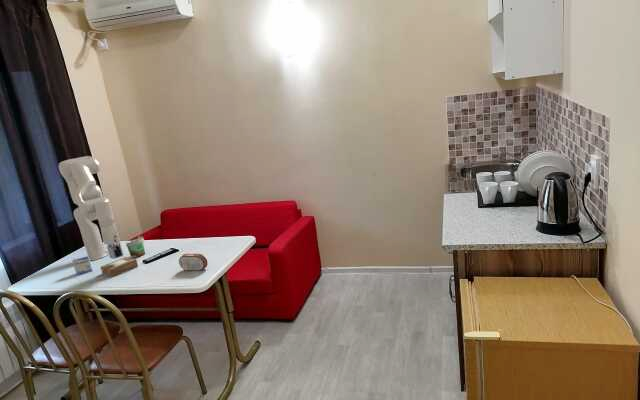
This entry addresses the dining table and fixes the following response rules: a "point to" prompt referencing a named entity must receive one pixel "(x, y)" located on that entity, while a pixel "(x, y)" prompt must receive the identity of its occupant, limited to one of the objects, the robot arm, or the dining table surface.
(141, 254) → the food container
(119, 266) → the plinth
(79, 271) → the medicine box
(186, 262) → the tin
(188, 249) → the dining table surface
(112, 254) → the slate block
